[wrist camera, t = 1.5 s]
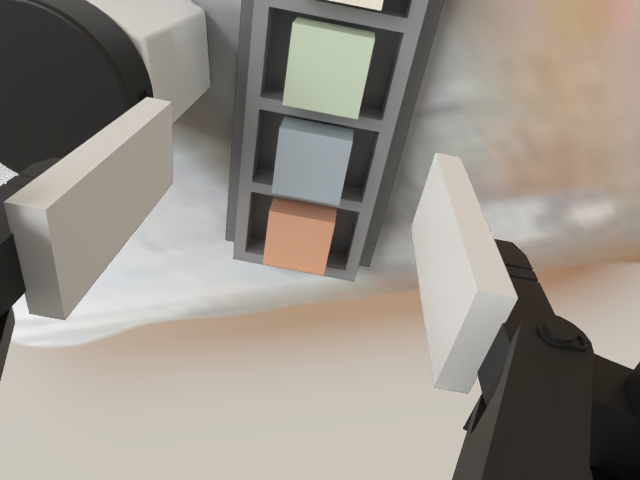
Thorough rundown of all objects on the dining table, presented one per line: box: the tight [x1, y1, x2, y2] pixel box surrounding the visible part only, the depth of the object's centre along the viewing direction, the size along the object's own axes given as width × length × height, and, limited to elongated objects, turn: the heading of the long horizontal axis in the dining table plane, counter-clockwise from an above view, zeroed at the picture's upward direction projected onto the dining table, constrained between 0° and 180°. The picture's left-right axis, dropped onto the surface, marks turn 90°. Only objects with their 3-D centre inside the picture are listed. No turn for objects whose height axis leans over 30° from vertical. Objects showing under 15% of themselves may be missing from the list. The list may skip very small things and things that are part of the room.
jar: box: [0, 0, 211, 174], centre depth 25 cm, size 9×8×12 cm
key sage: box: [282, 17, 375, 119], centre depth 26 cm, size 4×4×2 cm
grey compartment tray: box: [225, 0, 444, 281], centre depth 29 cm, size 11×23×4 cm, turn 170°
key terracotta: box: [263, 196, 337, 276], centre depth 32 cm, size 4×4×2 cm
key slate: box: [271, 116, 354, 206], centre depth 29 cm, size 4×4×2 cm
